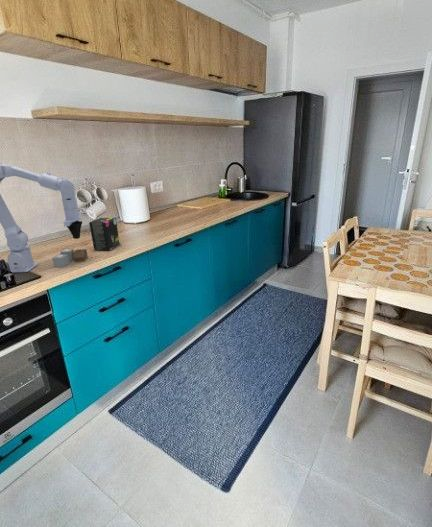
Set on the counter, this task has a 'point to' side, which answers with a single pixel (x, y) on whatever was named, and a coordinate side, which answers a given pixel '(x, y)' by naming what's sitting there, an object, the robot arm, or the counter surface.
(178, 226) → the counter surface
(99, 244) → the tampon box
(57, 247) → the counter surface
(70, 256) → the grey dot cube
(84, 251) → the walnut cube
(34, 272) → the counter surface
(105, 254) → the counter surface
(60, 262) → the grey dot cube
